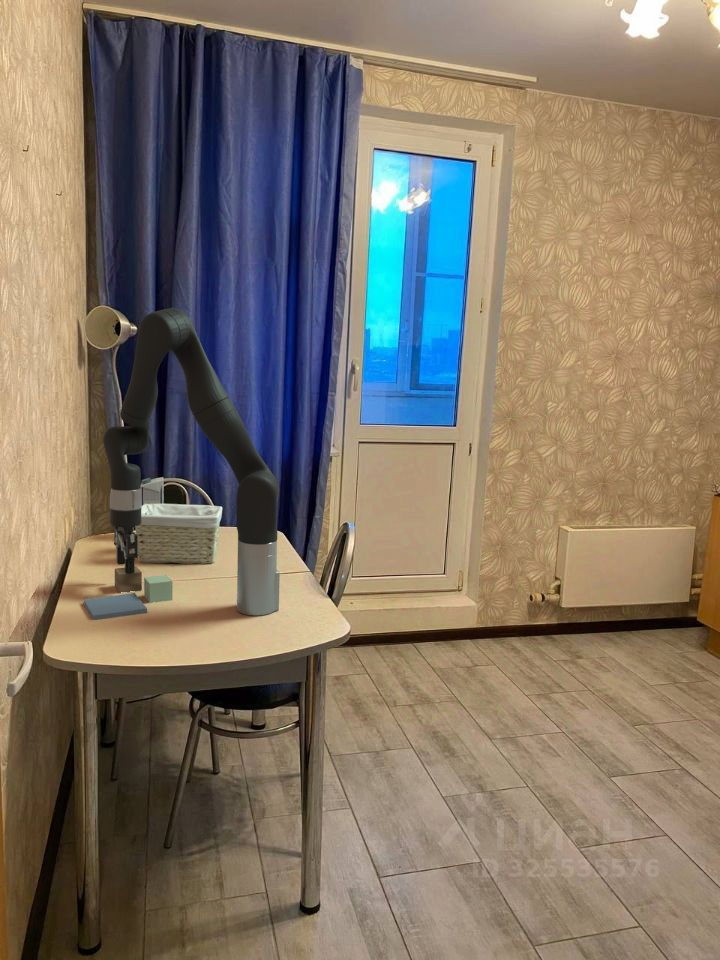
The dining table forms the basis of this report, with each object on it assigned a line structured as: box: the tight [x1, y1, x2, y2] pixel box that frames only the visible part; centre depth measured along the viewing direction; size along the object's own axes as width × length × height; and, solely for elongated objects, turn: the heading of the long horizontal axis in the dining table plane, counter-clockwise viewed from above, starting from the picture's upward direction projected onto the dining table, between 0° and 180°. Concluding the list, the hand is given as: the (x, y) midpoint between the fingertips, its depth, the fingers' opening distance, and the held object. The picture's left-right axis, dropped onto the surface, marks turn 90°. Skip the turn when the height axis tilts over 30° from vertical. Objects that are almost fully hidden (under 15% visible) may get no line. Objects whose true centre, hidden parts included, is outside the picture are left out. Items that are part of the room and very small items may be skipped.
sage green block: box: [143, 574, 173, 604], centre depth 182 cm, size 6×6×5 cm
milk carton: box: [140, 476, 165, 506], centre depth 235 cm, size 7×7×20 cm
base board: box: [83, 592, 148, 621], centre depth 174 cm, size 12×12×1 cm
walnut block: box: [114, 565, 143, 594], centre depth 188 cm, size 6×6×5 cm
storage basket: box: [134, 503, 223, 565], centre depth 217 cm, size 24×16×15 cm
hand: (125, 568), depth 187 cm, fingers open, 8 cm apart
